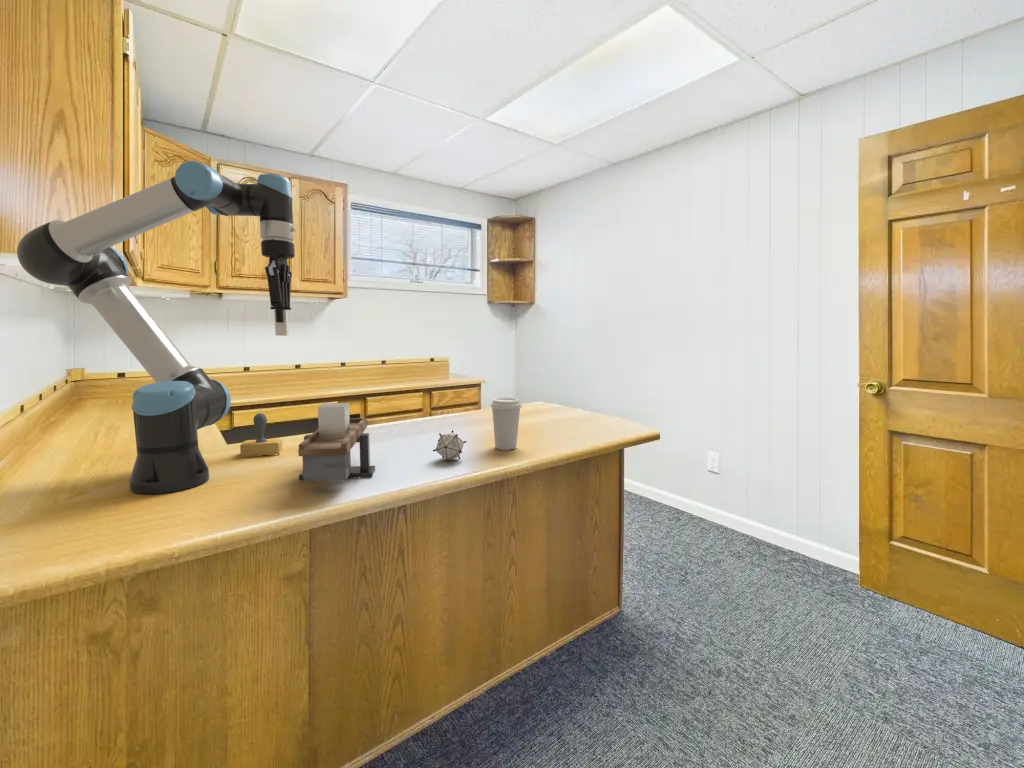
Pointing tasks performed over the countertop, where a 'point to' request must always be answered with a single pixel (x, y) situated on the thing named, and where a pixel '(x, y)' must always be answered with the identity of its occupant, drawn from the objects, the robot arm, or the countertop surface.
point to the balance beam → (330, 454)
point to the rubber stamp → (260, 441)
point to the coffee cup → (505, 422)
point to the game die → (449, 446)
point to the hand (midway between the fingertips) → (282, 335)
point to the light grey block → (333, 420)
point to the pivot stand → (364, 467)
